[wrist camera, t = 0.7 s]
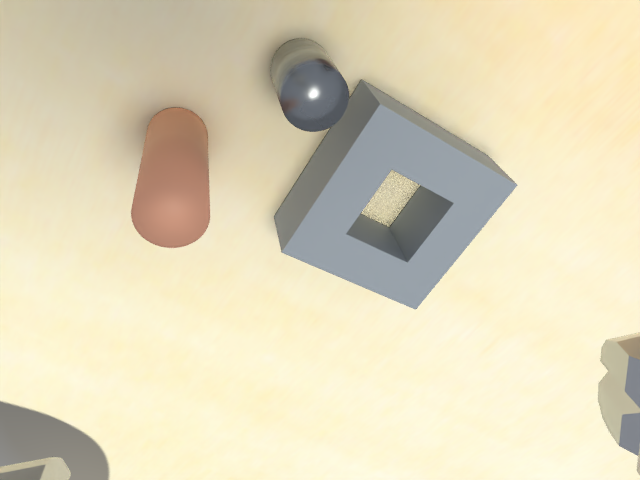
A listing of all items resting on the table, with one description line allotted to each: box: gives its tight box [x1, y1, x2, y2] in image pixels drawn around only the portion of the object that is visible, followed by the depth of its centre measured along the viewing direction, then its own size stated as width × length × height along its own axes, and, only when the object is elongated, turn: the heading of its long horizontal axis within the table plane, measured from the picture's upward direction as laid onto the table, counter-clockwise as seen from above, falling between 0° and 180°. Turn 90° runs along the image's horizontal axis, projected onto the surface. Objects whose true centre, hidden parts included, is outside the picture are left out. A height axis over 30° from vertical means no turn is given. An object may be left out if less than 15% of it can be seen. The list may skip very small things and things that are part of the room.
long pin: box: [131, 107, 210, 248], centre depth 35 cm, size 4×4×11 cm
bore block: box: [274, 80, 517, 309], centre depth 43 cm, size 12×12×5 cm
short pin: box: [270, 38, 349, 132], centre depth 37 cm, size 4×4×6 cm
